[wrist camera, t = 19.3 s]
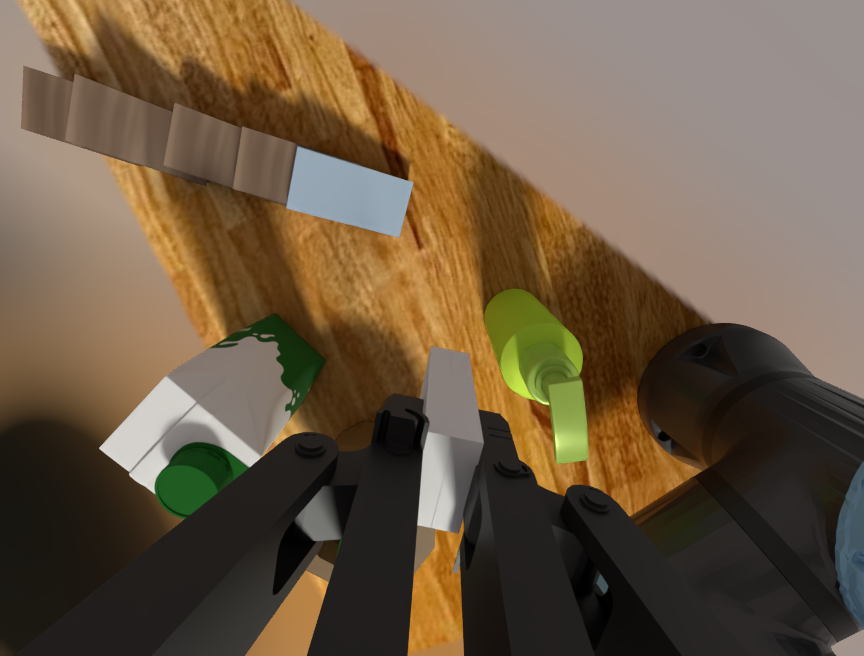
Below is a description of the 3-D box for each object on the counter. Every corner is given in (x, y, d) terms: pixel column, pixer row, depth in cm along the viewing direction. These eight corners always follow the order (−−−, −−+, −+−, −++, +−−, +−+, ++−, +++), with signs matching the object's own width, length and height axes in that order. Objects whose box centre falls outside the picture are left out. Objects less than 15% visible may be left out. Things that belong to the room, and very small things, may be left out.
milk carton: (284, 412, 47) (174, 555, 28) (220, 355, 45) (55, 466, 26) (339, 360, 45) (261, 475, 26) (273, 299, 43) (138, 373, 24)
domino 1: (142, 104, 36) (23, 65, 36) (136, 165, 38) (21, 128, 37) (156, 109, 38) (42, 72, 37) (149, 166, 39) (40, 131, 39)
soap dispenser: (489, 358, 45) (524, 473, 25) (480, 293, 43) (509, 365, 24) (546, 349, 44) (625, 460, 25) (539, 283, 42) (618, 349, 23)
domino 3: (301, 151, 38) (174, 102, 34) (286, 206, 39) (163, 165, 36) (301, 151, 40) (180, 104, 36) (287, 204, 41) (169, 164, 37)
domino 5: (413, 182, 38) (297, 146, 35) (399, 237, 40) (286, 208, 36) (408, 181, 40) (297, 146, 36) (394, 234, 41) (286, 206, 38)
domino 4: (363, 165, 38) (242, 126, 35) (350, 220, 40) (232, 189, 36) (360, 164, 40) (244, 127, 36) (348, 218, 41) (235, 187, 37)
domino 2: (218, 130, 38) (74, 73, 32) (205, 186, 39) (64, 140, 34) (218, 129, 39) (80, 75, 34) (205, 183, 40) (70, 139, 35)
